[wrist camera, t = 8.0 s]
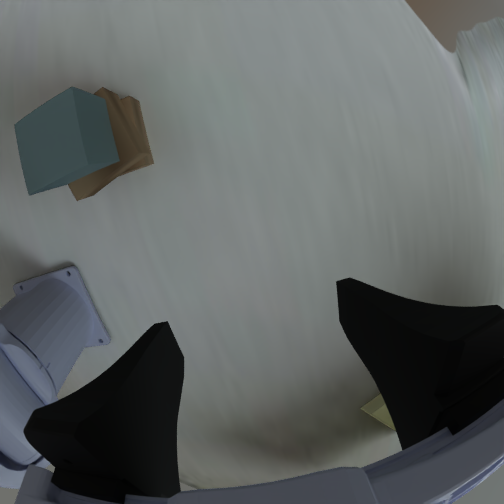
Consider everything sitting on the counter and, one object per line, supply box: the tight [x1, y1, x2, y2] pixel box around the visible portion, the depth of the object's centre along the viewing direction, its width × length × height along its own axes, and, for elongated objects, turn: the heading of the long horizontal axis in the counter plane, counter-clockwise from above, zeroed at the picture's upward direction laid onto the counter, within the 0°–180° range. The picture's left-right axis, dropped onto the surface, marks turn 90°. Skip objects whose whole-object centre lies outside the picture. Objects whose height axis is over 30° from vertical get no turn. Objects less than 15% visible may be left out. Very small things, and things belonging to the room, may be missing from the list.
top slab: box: [68, 87, 150, 201], centre depth 14 cm, size 5×5×2 cm
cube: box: [15, 87, 120, 196], centre depth 11 cm, size 4×4×4 cm
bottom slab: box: [119, 96, 154, 176], centre depth 17 cm, size 5×5×2 cm
